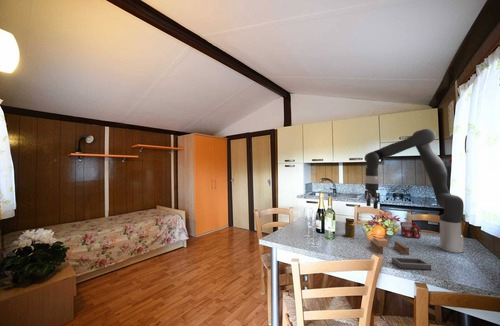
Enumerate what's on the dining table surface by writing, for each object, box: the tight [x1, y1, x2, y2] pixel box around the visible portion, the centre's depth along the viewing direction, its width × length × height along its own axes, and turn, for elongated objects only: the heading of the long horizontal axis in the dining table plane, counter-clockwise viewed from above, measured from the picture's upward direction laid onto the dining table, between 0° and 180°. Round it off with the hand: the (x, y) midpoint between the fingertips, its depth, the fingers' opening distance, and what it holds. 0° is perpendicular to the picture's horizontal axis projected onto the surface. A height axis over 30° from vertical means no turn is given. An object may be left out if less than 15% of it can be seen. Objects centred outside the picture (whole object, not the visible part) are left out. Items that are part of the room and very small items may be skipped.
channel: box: [369, 239, 410, 256], centre depth 121 cm, size 16×10×4 cm, turn 85°
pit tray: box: [391, 256, 432, 271], centre depth 102 cm, size 14×7×2 cm, turn 85°
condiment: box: [341, 218, 357, 240], centre depth 145 cm, size 7×8×12 cm
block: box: [372, 236, 389, 248], centre depth 130 cm, size 6×6×4 cm
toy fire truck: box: [399, 221, 422, 240], centre depth 145 cm, size 7×12×10 cm, turn 77°
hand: (371, 207), depth 134 cm, fingers open, 8 cm apart
